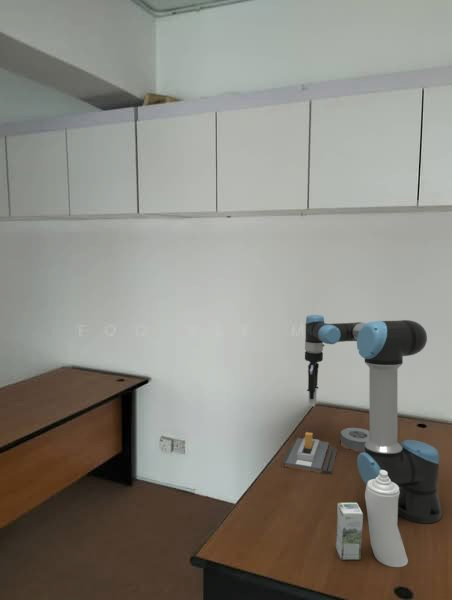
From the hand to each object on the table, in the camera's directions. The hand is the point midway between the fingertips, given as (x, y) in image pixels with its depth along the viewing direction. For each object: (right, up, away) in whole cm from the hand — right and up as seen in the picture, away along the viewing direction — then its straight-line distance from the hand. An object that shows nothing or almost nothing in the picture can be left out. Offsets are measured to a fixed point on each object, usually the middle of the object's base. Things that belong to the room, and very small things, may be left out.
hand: (312, 404), depth 199 cm
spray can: (+8, -28, -67) cm, 73 cm away
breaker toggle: (-3, -19, -5) cm, 20 cm away
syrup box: (-2, -28, -67) cm, 72 cm away
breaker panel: (-1, -21, -5) cm, 22 cm away
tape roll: (+22, -20, +8) cm, 31 cm away
